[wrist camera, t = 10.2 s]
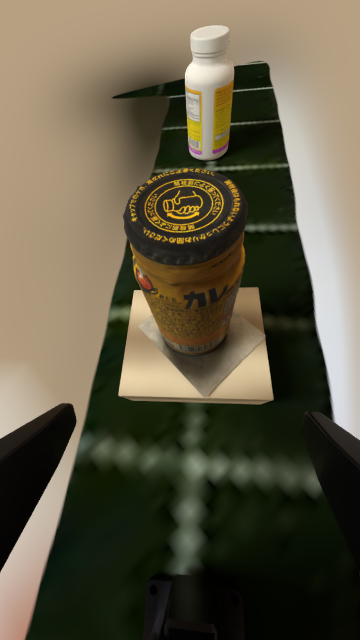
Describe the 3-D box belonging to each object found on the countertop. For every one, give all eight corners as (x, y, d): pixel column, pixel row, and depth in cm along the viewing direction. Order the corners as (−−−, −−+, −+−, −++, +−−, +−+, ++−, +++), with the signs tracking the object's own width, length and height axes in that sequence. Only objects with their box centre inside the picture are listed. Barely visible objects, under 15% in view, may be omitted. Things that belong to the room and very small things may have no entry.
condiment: (195, 279, 22) (188, 137, 11) (265, 336, 18) (352, 214, 8) (138, 327, 20) (63, 214, 9) (204, 398, 17) (205, 353, 6)
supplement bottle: (229, 140, 39) (240, 19, 27) (225, 162, 36) (236, 39, 24) (192, 140, 40) (187, 24, 28) (185, 162, 37) (178, 44, 26)
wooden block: (260, 404, 20) (273, 399, 16) (132, 400, 21) (118, 395, 18) (249, 307, 24) (258, 287, 21) (143, 309, 25) (134, 290, 22)
